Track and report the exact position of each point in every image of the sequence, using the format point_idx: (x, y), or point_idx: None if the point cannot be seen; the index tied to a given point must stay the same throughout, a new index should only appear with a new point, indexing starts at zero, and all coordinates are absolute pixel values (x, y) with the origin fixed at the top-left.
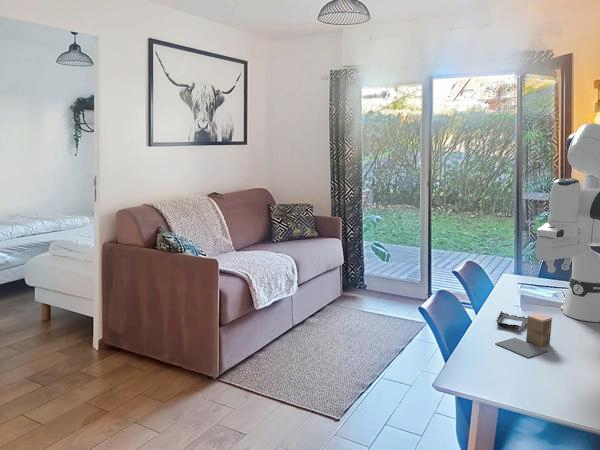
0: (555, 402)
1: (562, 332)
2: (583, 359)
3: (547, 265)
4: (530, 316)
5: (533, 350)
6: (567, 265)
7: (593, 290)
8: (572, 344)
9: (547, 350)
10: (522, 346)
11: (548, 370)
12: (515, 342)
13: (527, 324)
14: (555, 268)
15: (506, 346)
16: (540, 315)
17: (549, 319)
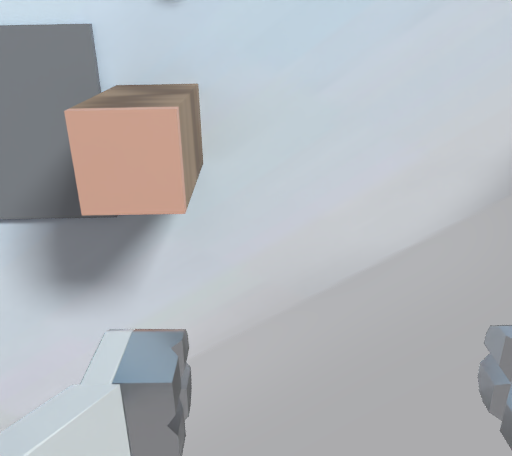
0: None
1: (414, 92)
2: (192, 320)
3: (42, 412)
4: (68, 129)
5: (52, 185)
6: None
7: None
8: (300, 214)
9: (115, 215)
10: (36, 129)
11: None
12: (39, 76)
13: (86, 100)
14: (180, 447)
15: None
16: (151, 149)
17: (161, 211)
